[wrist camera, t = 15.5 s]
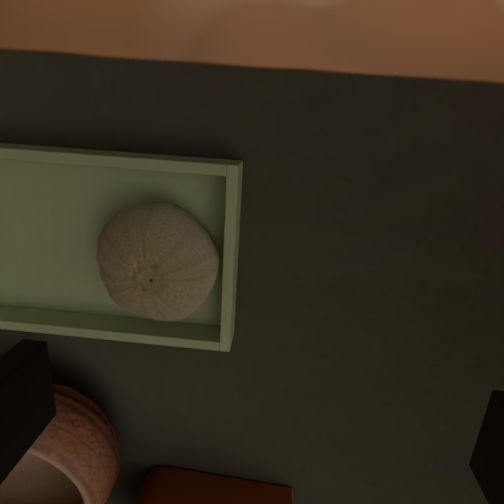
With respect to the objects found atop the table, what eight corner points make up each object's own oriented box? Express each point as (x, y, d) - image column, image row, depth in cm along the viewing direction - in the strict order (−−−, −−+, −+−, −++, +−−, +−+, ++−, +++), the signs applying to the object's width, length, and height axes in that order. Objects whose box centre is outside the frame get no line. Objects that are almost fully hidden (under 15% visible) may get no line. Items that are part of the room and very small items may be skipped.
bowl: (117, 495, 42) (68, 606, 32) (-25, 449, 41) (-117, 548, 32) (152, 381, 36) (105, 475, 27) (-11, 327, 36) (-117, 402, 27)
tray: (243, 160, 29) (238, 165, 26) (234, 332, 34) (229, 352, 31) (-36, 140, 30) (-69, 142, 28) (-6, 308, 35) (-31, 325, 32)
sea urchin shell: (175, 170, 27) (195, 270, 23) (222, 221, 34) (244, 305, 30) (68, 221, 29) (71, 321, 25) (133, 260, 36) (143, 343, 32)
